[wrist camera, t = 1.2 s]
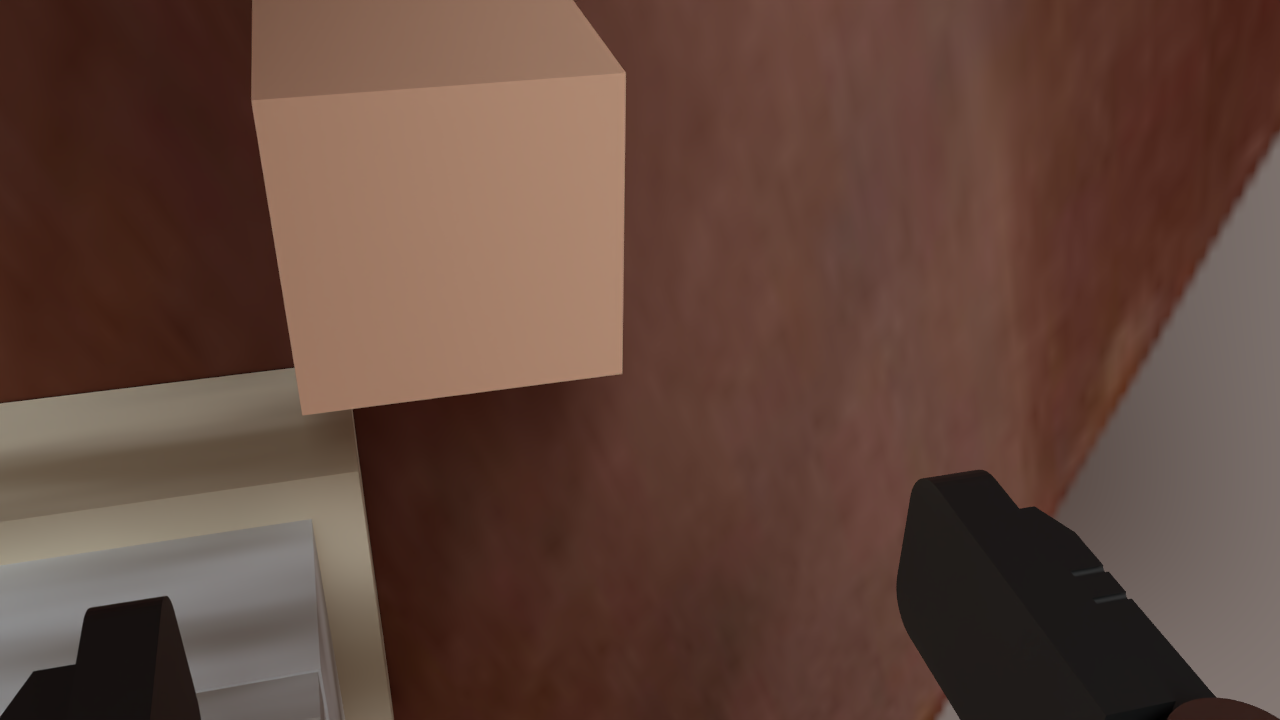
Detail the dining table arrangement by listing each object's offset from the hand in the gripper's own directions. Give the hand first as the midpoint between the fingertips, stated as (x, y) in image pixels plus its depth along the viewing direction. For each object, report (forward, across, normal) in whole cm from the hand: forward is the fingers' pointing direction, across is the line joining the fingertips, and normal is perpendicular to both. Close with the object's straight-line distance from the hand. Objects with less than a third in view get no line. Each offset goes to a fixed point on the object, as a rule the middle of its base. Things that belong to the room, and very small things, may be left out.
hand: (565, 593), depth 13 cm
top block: (+14, 0, 0) cm, 14 cm away
